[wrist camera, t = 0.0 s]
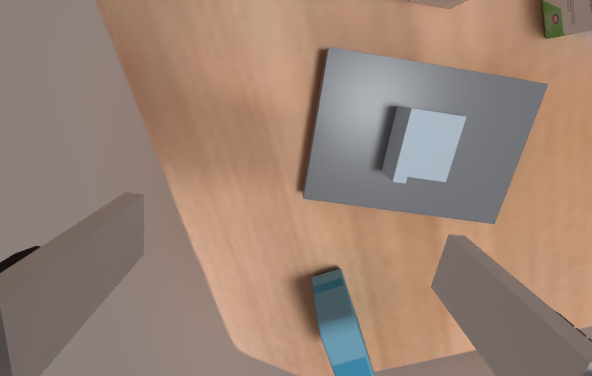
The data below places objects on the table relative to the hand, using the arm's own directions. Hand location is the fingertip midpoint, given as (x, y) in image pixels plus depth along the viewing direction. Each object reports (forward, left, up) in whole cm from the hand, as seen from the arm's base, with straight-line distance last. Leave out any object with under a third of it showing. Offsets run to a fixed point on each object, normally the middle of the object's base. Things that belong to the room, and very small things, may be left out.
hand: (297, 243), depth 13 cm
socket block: (-2, +16, -28) cm, 32 cm away
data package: (+24, +11, -28) cm, 38 cm away
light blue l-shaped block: (-2, +16, -25) cm, 29 cm away
